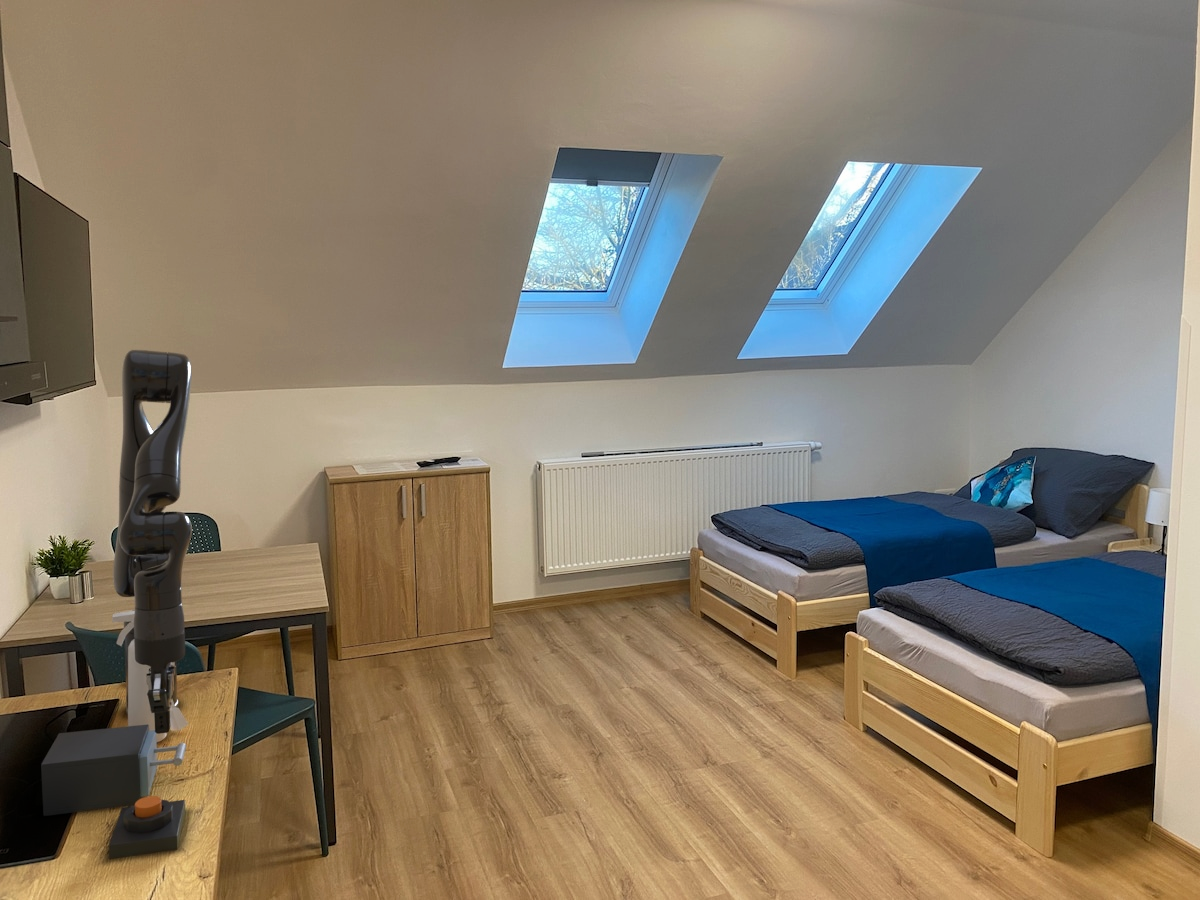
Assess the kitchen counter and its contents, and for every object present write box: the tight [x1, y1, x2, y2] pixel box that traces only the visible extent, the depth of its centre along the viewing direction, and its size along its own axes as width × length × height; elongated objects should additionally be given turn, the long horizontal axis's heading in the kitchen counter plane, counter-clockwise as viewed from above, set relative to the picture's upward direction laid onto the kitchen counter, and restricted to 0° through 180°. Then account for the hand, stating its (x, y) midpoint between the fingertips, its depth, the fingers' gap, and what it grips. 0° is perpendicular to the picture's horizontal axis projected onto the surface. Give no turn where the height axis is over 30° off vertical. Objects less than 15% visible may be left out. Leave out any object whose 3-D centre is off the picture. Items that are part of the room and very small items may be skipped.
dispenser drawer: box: [139, 730, 187, 798], centre depth 149 cm, size 17×10×7 cm, turn 109°
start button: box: [135, 795, 162, 818], centre depth 135 cm, size 4×4×2 cm
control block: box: [108, 799, 186, 860], centre depth 136 cm, size 11×9×4 cm
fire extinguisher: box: [111, 610, 189, 743], centre depth 167 cm, size 7×12×25 cm, turn 111°
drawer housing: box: [40, 724, 149, 817], centre depth 147 cm, size 14×12×9 cm
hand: (162, 731), depth 150 cm, fingers closed
